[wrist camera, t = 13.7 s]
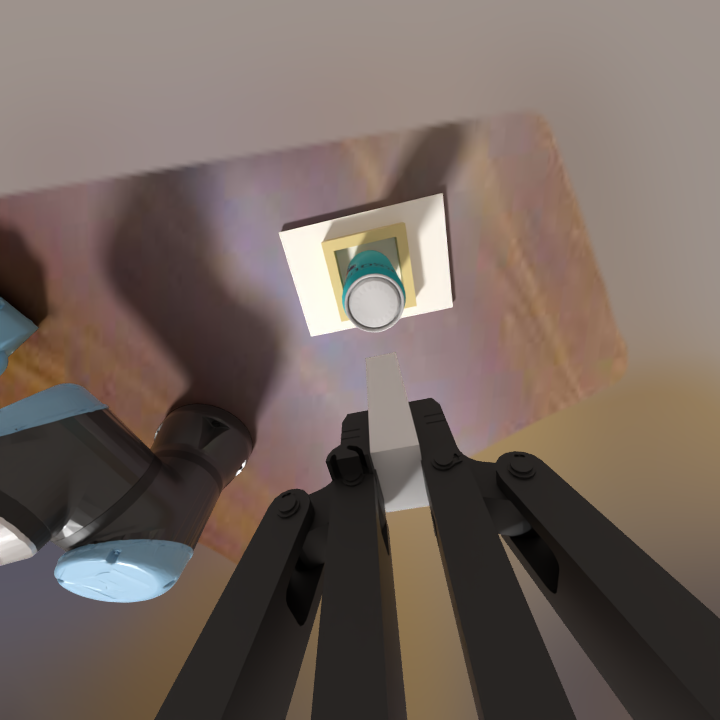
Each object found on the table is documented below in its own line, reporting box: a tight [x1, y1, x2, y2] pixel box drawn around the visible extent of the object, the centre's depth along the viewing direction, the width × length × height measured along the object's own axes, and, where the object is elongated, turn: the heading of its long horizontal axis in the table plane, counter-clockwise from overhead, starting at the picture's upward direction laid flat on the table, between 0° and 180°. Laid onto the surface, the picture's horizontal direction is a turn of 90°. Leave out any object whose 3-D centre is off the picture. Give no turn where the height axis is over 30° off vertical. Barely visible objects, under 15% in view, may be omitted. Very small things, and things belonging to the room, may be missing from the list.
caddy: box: [279, 193, 453, 337], centre depth 39 cm, size 20×14×4 cm
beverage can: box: [342, 250, 406, 332], centre depth 33 cm, size 6×6×15 cm
